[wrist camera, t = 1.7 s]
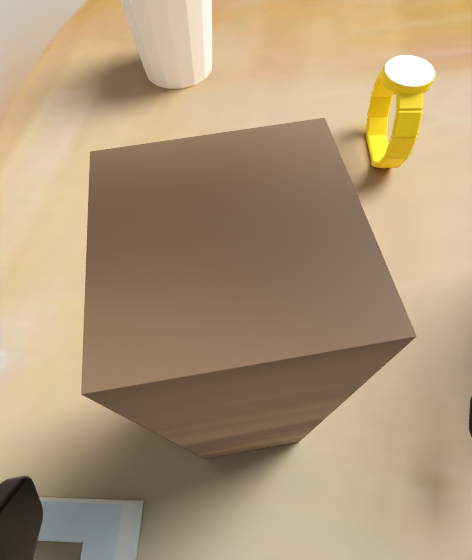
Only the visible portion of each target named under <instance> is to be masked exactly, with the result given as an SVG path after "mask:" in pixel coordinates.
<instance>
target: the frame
mask: <svg viewBox="0 0 472 560" xmlns="http://www.w3.org/2000/svg"><path fill="white" fill-rule="evenodd" d="M39 499H40V501H41V504H42V507H43V521H42V525H41V529H40V533H39V537H38V541H60V542H83V547H82V552H81V557H80V560H136V557H137V549H138V542H139V534H140V526H141V518H142V510H143V502H144V501H138V500H110V499H83V498H55V497H39Z"/></svg>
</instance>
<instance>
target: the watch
mask: <svg viewBox="0 0 472 560" xmlns="http://www.w3.org/2000/svg"><path fill="white" fill-rule="evenodd" d="M434 78H435V70H434V68H433V66H432V65H431V64H430V63H429V62H428V61H426V60H424V59H422V58H420V57H416V56H411V55H402V56H397V57H394V58H392V59H390V60H389V61H388V62H387V63H386V65H385V66H384V68H383V69H382V71H381V72H380V74H379V75H378V78H377V79H376V82H375V85H374V88H373V91H372V94H371V95H372V96H371V99H370V104H369V109H368V115H367V116H368V118H367V126H366V138H367V143H368V148H369V152H370V157H371V162H372V163H371V165H372V166H373V167H377V168H398V167H400V166H401V164H402V163H403V162H404V161H405V160H406V159H407V158H408V156H409V155H410V153H411V150H412V148H413V146H414V143H415V141H416V139H417V138H416V136H417V135H418V131H419V126H420V121H421V117H422V111H421V110H422V109H423V94H424V93H425V92H427V91H428V90H429V89H430V86H431V84H432V82H433V80H434ZM393 94H396V114H395V119H394V125H393V130H392V136H391V139H390V141H389V144H388V140H387V125H388V115H389V110H390V106H391V101H392V96H393Z"/></svg>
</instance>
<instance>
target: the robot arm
mask: <svg viewBox="0 0 472 560" xmlns="http://www.w3.org/2000/svg"><path fill="white" fill-rule="evenodd" d="M469 431H470V434H471V436H472V397H471V399H470V414H469ZM42 521H43V507H42V504H41V501H40V499H39V496H38V493H37V491H36V488H35V486H34V483H33V481H32V479H31V478H30V477H29V476H21V477H15V478H10V479H7V480H5V481H3V482H2V483H1V484H0V560H33V556H34V552H35V548H36V544H37V541H38V537H39V533H40V529H41V525H42Z"/></svg>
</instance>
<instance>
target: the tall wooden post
mask: <svg viewBox="0 0 472 560" xmlns="http://www.w3.org/2000/svg"><path fill="white" fill-rule="evenodd" d="M415 337H416V334H415V332H414V329H413V327H412V325H411V322H410V320H409V318H408V315H407V313H406V310H405V308H404V306H403V303H402V301H401V298H400V296H399V294H398V291H397V289H396V287H395V284H394V282H393V279H392V277H391V275H390V272H389V270H388V268H387V265H386V263H385V260H384V258H383V256H382V253H381V251H380V248H379V246H378V244H377V241H376V239H375V237H374V234H373V232H372V229H371V227H370V225H369V222H368V220H367V218H366V215H365V213H364V210H363V208H362V206H361V203H360V201H359V199H358V196H357V194H356V191H355V189H354V187H353V184H352V182H351V179H350V177H349V175H348V172H347V170H346V168H345V165H344V163H343V160H342V158H341V156H340V153H339V151H338V149H337V146H336V144H335V141H334V139H333V137H332V134H331V132H330V130H329V127H328V125H327V122H326V120H325V118H320V119H313V120H307V121H300V122H293V123H286V124H279V125H272V126H265V127H258V128H251V129H244V130H237V131H230V132H223V133H216V134H210V135H203V136H196V137H189V138H182V139H175V140H168V141H161V142H154V143H147V144H140V145H133V146H126V147H120V148H113V149H106V150H99V151H92V152H90V171H89V199H88V226H87V253H86V281H85V308H84V336H83V363H82V390H81V394H82V395H84V396H85V397H87V398H89V399H91V400H93V401H95V402H97V403H99V404H101V405H103V406H105V407H107V408H108V409H110V410H112V411H114V412H116V413H118V414H120V415H122V416H124V417H126V418H128V419H129V420H131V421H133V422H135V423H137V424H139V425H141V426H143V427H145V428H147V429H149V430H151V431H152V432H154V433H156V434H158V435H160V436H162V437H164V438H166V439H168V440H170V441H172V442H173V443H175V444H177V445H179V446H181V447H183V448H185V449H187V450H189V451H191V452H193V453H195V454H196V455H198V456H200V457H202V458H204V459H207V458H212V457H218V456H223V455H229V454H234V453H240V452H245V451H251V450H256V449H262V448H267V447H273V446H278V445H283V444H289V443H294V442H299V441H301V440H302V439H303V438H304V437H305V436H306V435H307V434H308V433H309V432H311V431H312V430H313V429H314V428H315V427H316V426H317V425H318V424H319V423H321V422H322V421H323V420H324V419H325V418H326V417H327V416H328V415H329V414H331V413H332V412H333V411H334V410H335V409H336V408H337V407H338V406H339V405H341V404H342V403H343V402H344V401H345V400H346V399H347V398H348V397H350V396H351V395H352V394H353V393H354V392H355V391H356V390H357V389H358V388H360V387H361V386H362V385H363V384H364V383H365V382H366V381H367V380H368V379H370V378H371V377H372V376H373V375H374V374H375V373H376V372H377V371H378V370H380V369H381V368H382V367H383V366H384V365H385V364H386V363H387V362H389V361H390V360H391V359H392V358H393V357H394V356H395V355H396V354H397V353H399V352H400V351H401V350H402V349H403V348H404V347H405V346H406V345H407V344H409V343H410V342H411V341H412V340H413V339H414V338H415Z"/></svg>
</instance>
